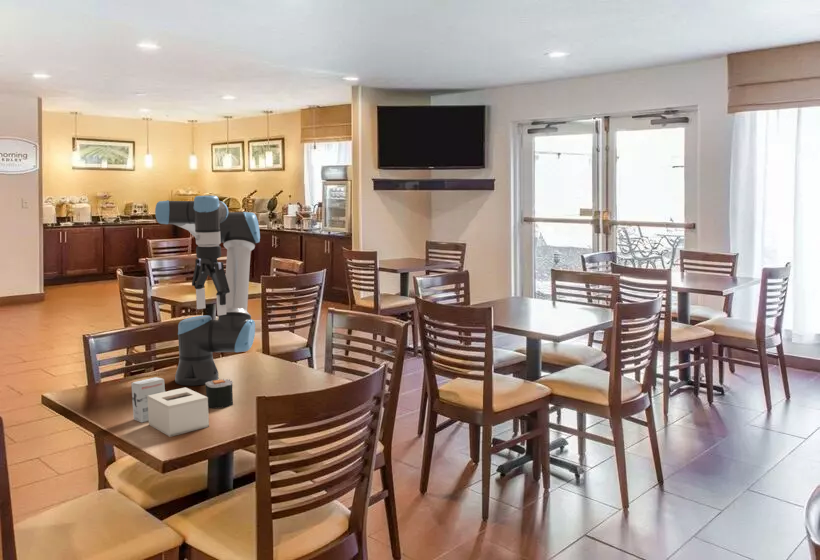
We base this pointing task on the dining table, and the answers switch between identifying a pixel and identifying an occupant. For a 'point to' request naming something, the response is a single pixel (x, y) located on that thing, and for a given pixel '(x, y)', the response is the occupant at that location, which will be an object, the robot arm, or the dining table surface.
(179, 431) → the tissue box
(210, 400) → the sushi
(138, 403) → the ink box
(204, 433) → the dining table surface
